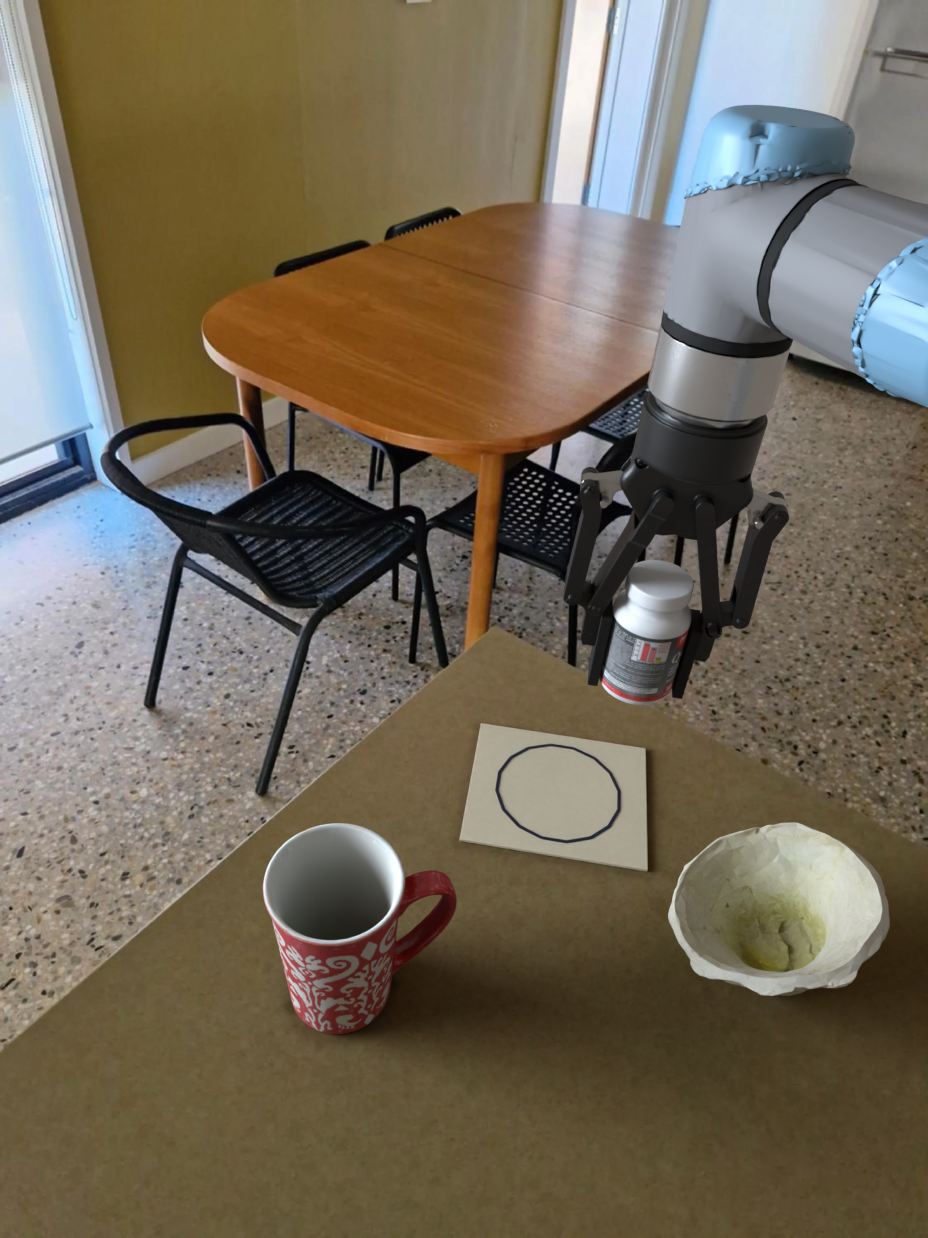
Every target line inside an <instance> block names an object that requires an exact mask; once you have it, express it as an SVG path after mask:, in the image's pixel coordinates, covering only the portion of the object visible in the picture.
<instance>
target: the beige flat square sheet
mask: <svg viewBox="0 0 928 1238" xmlns="http://www.w3.org/2000/svg"><path fill="white" fill-rule="evenodd" d="M646 753H647V751H646V748H645V747H640V746H632V745H626V744H620V743H614V742H613V743H612V742H608V741H601V740H594V739H587V738H580V737H575V736H568V735H561V734H555V733H548V732H542V731H535V730H529V729H522V728H516V727H509V726H504V725H503V726H502V725H498V724H497V725H496V724H490V723H483V722H481V723H480V727H479V733H478V737H477V743H476V748H475V754H474V758H473V765H472V770H471V775H470V781H469V787H468V792H467V797H466V801H465V802H466V803H465V808H464V813H463V819H462V823H461V830H460V835H459V842H461V843H463V842H464V843H470V844H474V845H480V846H481V845H482V846H486V847H494V848H499V849H504V850H505V849H507V850H511V851H517V852H524V853H529V854H536V855H543V856H549V857H555V858H562V859H567V860H572V861H578V862H584V863H590V864H591V863H592V864H598V865H604V866H610V867H616V868H621V869H622V868H623V869H627V870H634V871H639V872H646V873H647V872H648V869H649V867H648V866H649V864H648V863H649V861H648V858H649V857H648V805H647V802H648V801H647V755H646Z"/></svg>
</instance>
